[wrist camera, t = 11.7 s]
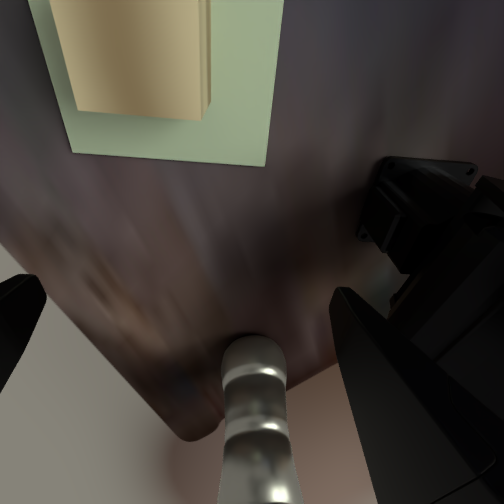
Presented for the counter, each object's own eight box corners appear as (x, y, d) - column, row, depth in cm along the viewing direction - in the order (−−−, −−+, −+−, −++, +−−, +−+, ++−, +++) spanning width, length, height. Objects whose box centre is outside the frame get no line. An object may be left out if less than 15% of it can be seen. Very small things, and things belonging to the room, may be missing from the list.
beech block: (211, -20, 13) (197, -50, 9) (211, 101, 16) (200, 120, 12) (98, -34, 12) (30, -72, 8) (120, 93, 15) (77, 110, 11)
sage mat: (297, -126, 11) (298, -131, 11) (264, 164, 18) (264, 166, 18) (-18, -176, 10) (-26, -182, 10) (75, 150, 18) (72, 152, 17)
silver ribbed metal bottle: (210, 339, 30) (174, 689, 14) (267, 318, 28) (303, 691, 12) (240, 368, 33) (239, 673, 17) (292, 351, 31) (347, 673, 15)
